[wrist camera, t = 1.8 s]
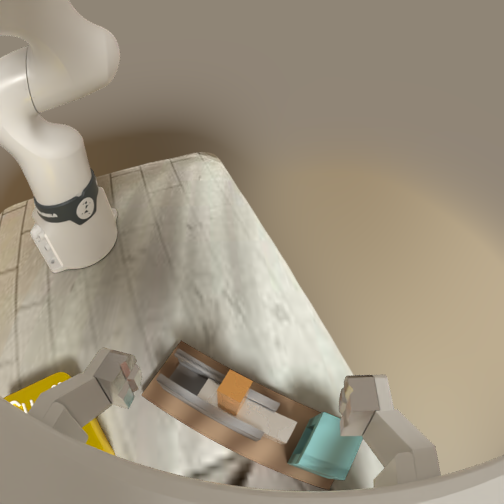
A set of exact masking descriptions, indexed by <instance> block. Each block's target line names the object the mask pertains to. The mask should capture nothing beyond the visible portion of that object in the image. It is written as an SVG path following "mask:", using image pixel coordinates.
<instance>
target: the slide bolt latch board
mask: <svg viewBox="0 0 504 504" xmlns="http://www.w3.org/2000/svg"><path fill="white" fill-rule="evenodd" d="M229 370H232V369H230V368H228V367H226V366H224V365H222V364H221V363H219V362H217V361H215V360H214V359H212V358H210V357H208V356H207V355H205V354H203V353H201V352H200V351H198V350H196V349H195V348H193V347H191V346H189V345H188V344H186V343H185V342H183V341H180V343H179V344H178V345H177V347H176V348H175V349H174V351H173V352H172V354H171V355H170V356H169V358H168V359H167V360H166V362H165V363H164V365H163V366H162V367H161V369H160V370H159V371H158V373H157V374H156V376H155V377H154V378H153V380H152V381H151V382H150V384H149V385H148V387H147V388H146V389H145V391H144V392H143V393H142V396H143V397H144V398H146V399H147V400H149V401H150V402H151V403H153V404H154V405H156V406H157V407H159V408H160V409H162V410H163V411H165V412H166V413H168V414H169V415H171V416H173V417H174V418H176V419H177V420H179V421H180V422H182V423H184V424H185V425H187V426H189V427H190V428H192V429H194V430H195V431H197V432H199V433H201V434H202V435H204V436H206V437H208V438H209V439H211V440H213V441H215V442H217V443H219V444H220V445H222V446H224V447H226V448H228V449H230V450H232V451H234V452H236V453H238V454H240V455H242V456H244V457H246V458H248V459H250V460H252V461H255V462H257V463H259V464H261V465H263V466H266V467H268V468H270V469H273V470H275V471H277V472H280V473H282V474H285V475H287V476H290V477H292V478H295V479H298V480H300V481H303V482H306V483H309V484H311V485H314V486H317V487H320V488H323V489H327V490H329V489H330V487H331V485H332V483H333V481H334V479H337V480H345V478H346V476H347V474H348V472H349V470H350V467H351V465H352V463H353V461H354V458H355V456H356V454H357V452H358V449H359V447H360V444H361V442H362V439H363V437H362V436H340V420H341V419H340V418H338V417H335V416H333V415H331V414H328V413H326V412H322V413H321V412H319V411H316V410H314V409H312V408H309V407H307V406H305V405H303V404H300V403H298V402H296V401H294V400H292V399H289V398H287V397H285V396H283V395H281V394H279V393H277V392H275V391H273V390H270V389H268V388H266V387H264V386H262V385H260V384H258V383H256V382H254V381H253V380H251V379H249V378H247V377H246V378H247V379H249V380H251V381H253V383H252V385H251V388H250V390H249V393H248V395H247V398H248V399H250V400H252V401H254V402H256V403H258V404H260V405H262V406H264V407H266V408H268V409H270V410H272V411H274V412H276V413H278V414H281V415H283V416H285V417H287V418H289V419H292V420H294V421H296V422H297V424H296V426H295V428H294V430H293V432H292V434H291V436H290V438H289V440H288V441H287V443H286V444H279V443H277V442H275V441H273V440H270V439H268V438H266V437H264V436H263V434H264V433H265V432H263V431H261V430H259V429H257V428H255V427H253V426H251V425H249V424H247V423H245V422H243V421H241V420H239V419H237V418H235V417H233V416H231V415H230V414H228V413H226V412H224V411H222V410H220V409H218V408H217V407H215V406H213V405H211V404H210V403H208V402H206V401H204V400H203V399H201V398H199V397H198V396H197V395H198V394H199V392H200V391H201V389H202V388H203V386H204V385H205V383H206V381H207V380H208V378H211V379H213V380H214V381H216V382H218V383H220V384H221V383H222V381H223V380H224V378H225V376H226V375H227V373H228V372H229ZM232 371H233V370H232ZM234 372H235V371H234ZM236 373H237V372H236ZM238 374H239V373H238ZM240 375H241V374H240ZM242 376H243V375H242ZM244 377H245V376H244Z"/></svg>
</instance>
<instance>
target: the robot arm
mask: <svg viewBox="0 0 504 504" xmlns="http://www.w3.org/2000/svg"><path fill="white" fill-rule="evenodd" d="M0 36H16V37H19V38H22V39H23V40H25V41H26V42H28V44H29V45H28V46H26V47H23V48H21V49H18V50H16V51H14V52H11V53H9V54H7V55H5V56H3V57H0V146H2V147H3V148H4V149H6V150H7V151H8V152H9V153H10V154H11V155H12V156H13V157H14V158H15V159H16V161H17V162H18V164H19V165H20V167H21V169H22V171H23V173H24V175H25V177H26V179H27V181H28V183H29V185H30V187H31V190H32V192H33V194H34V204H35V208H34V210H33V212H32V218H33V220H34V222H35V225H34V226H33V228H32V229H31V232H30V234H31V237H32V239H33V241H34V242H35V244H36V246H37V248H38V249H39V251H40V253H41V255H42V256H43V258H44V260H45V261H46V263H47V265H48V266H49V268H50V270H51V271H52V272H53V273H57V272H61V271H63V270H66V269H79V268H84V267H88V266H90V265H93V264H95V263H96V262H98V261H100V260H101V259H102V258H104V257H105V256H106V255H107V254H108V253H109V252H110V250H111V249H112V248H113V246H114V244H115V242H116V239H117V233H118V232H117V226H116V220H117V216H118V213H117V210H116V209H115V208H112V207H110V204H109V202H108V199H107V197H106V194H105V192H104V189H103V188H102V187H99V186H98V185H97V179H96V176H95V175H94V172H93V170H92V169H91V168H90V166H89V162H88V158H87V154H86V150H85V145H84V141H83V138H82V136H81V134H80V133H79V132H78V131H77V130H76V129H74V128H72V127H70V126H68V125H64V124H55V123H50V122H48V121H46V120H44V119H43V118H42V117H41V116H40V115H39V114H40V113H41V112H44V111H47V110H49V109H52V108H55V107H57V106H60V105H63V104H66V103H69V102H72V101H75V100H78V99H81V98H83V97H85V96H87V95H89V94H91V93H93V92H95V91H97V90H99V89H101V88H103V87H105V86H107V85H109V83H110V82H111V81H112V79H113V77H114V76H115V74H116V71H117V69H118V66H119V61H120V50H119V45H118V43H117V41H116V39H115V37H114V36H113V35H112V33H111V32H109V31H108V30H107V29H105V28H103V27H100V26H98V25H95V24H93V23H91V22H89V21H88V20H86V19H85V18H83V17H82V16H81V15H80V14H79V13H78V12H77V11H76V10H75V9H74V7H73V6H72V5H71V3H70V1H69V0H0ZM136 362H137V360H136V358H135V356H134V355H131V354H127V353H123V352H119V351H115V350H111V349H107V348H101V349H100V350H99V351H98V352H97V354H96V355H95V357H94V358H93V360H92V361H91V362H90V364H89V365H88V367H87V368H86V370H85V371H84V373H79V374H77V375H75V376H73V377H71V378H70V379H68V380H66V381H64V382H62V383H60V384H58V385H56V386H54V387H52V388H51V389H49V390H47V391H45V392H43V393H41V394H40V396H39V397H38V398H37V400H36V401H35V403H34V404H33V406H32V407H31V409H30V410H29V412H28V413H25V412H24V411H22V410H20V409H19V408H17V407H16V406H14V405H12V404H11V403H9V402H8V401H6V400H5V399H3V398H2V397H0V504H504V455H502V456H500V457H497V458H495V459H492V460H489V461H487V462H484V463H481V464H478V465H475V466H473V467H469V468H466V469H463V470H459V471H456V472H452V473H449V474H445V475H441V474H440V468H439V463H438V457H437V453H436V448H435V446H434V445H433V444H432V443H431V442H430V441H429V440H428V439H427V438H426V437H425V436H424V435H423V434H422V433H421V432H420V431H419V430H418V429H417V428H416V427H415V426H414V425H413V424H412V423H411V422H410V421H409V420H408V419H407V418H406V417H405V416H404V415H403V414H402V413H401V412H400V411H399V410H398V409H397V410H396V409H394V407H393V402H392V397H391V392H390V388H389V383H388V379H387V376H386V375H355V376H346V377H345V380H344V388H342V389H341V393H340V399H339V412H340V413H341V414H342V417H341V420H340V436H362V437H363V439H364V440H365V442H366V443H367V444H368V446H369V447H370V448H371V450H372V451H373V453H374V454H375V455H376V457H377V458H378V459H379V461H380V462H381V464H382V465H383V466H384V469H383V470H382V471H381V473H380V474H379V475H378V476H377V477H376V478H375V479H374V488H367V489H355V490H340V491H285V490H269V489H258V488H248V487H240V486H233V485H226V484H220V483H214V482H209V481H203V480H198V479H194V478H189V477H185V476H180V475H176V474H172V473H168V472H165V471H161V470H157V469H154V468H151V467H147V466H144V465H141V464H138V463H135V462H132V461H129V460H126V459H123V458H120V457H117V456H115V455H112V454H109V453H107V452H104V451H102V450H99V449H97V448H95V447H92V446H90V445H87V444H86V442H87V440H88V435H87V434H86V432H85V431H84V430H83V429H82V427H83V426H85V425H86V424H88V423H89V422H90V421H92V420H93V419H94V418H96V417H97V416H98V415H100V414H101V413H102V412H104V411H105V410H106V409H108V408H109V407H110V406H112V405H116V406H119V407H123V408H127V409H129V407H130V405H131V403H132V401H133V399H134V393H133V392H135V391H136V390H138V389H139V387H140V385H141V381H142V372H141V369H140V368H139V367H138V366H137V365H136ZM111 404H112V405H111Z"/></svg>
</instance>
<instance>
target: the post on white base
mask: <svg viewBox="0 0 504 504" xmlns="http://www.w3.org/2000/svg"><path fill="white" fill-rule="evenodd" d="M252 383H253V381H251V380H249V379H247V378H246V377H244V376H242V375H240V374H238V373H236V372H234V371H232V370H229V372H228V373H227V375H226V376H225V378H224V380H223V381H222V383H221V384H220V383H218V382H216V381H214V380H213V379H211V378H208V380H207V381H206V383H205V385H204V386H203V388H202V389H201V391H200V392H199V394H198V395H197V396H198V397H199V398H201V399H203V400H204V401H206V402H208V403H210V404H211V405H213V406H215V407H217V408H218V409H220V410H222V411H224V412H226V413H228V414H230V415H231V416H233V417H235V418H237V419H239V420H241V421H243V422H245V423H247V424H249V425H251V426H253V427H255V428H257V429H259V430H261V431H263V432H265V433H264V434H263V436H264V437H266V438H268V439H270V440H273V441H275V442H277V443H279V444H286V443H287V441H288V440H289V438H290V436H291V434H292V432H293V430H294V428H295V426H296V424H297V422H296V421H294V420H292V419H289V418H287V417H285V416H283V415H281V414H278V413H276V412H274V411H272V410H270V409H268V408H266V407H264V406H262V405H260V404H258V403H256V402H254V401H252V400H250V399H248V398H247V395H248V393H249V390H250V388H251V385H252Z"/></svg>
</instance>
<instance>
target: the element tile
mask: <svg viewBox="0 0 504 504" xmlns="http://www.w3.org/2000/svg"><path fill="white" fill-rule="evenodd" d="M70 378H71V376H70V375H68V374H67V373H64V372H57V373H55V374H53V375H50V376H48V377H46V378H44V379H42V380H40V381H38V382H36V383H34V384H32V385H30V386H27V387H25V388H23V389H21V390H19V391H17V392H15V393H13V394H10V395H8V396H6V397H5V398H3V399H5V400H6V401H8V402H9V403H11V404H12V405H14V406H16V407H17V408H19V409H20V410H22V411H24V412H25V413H28V412H29V410H30V409H31V407H32V406H33V404H34V403H35V401H36V400H37V398H38V397H39V396H40V394H41V393H43V392H45V391H47V390H49V389H51V388H52V387H54V386H56V385H58V384H60V383H62V382H64V381H66V380H68V379H70ZM82 429H83V430H84V431H85V432H86V434H87V435H88V440H87V442H86V444H87V445H90V446H92V447H95V448H97V449H99V450H102V451H104V452H107V453H109V454H112V455H115V453H114V451H113V449H112V447H111V446H110V444H109V442H108V440H107V438H106V436H105V434H104V432H103V431H102V429H101V427H100V425H99V423H98V421H97V419H96V418H94V419H93V420H92V421H90V422H89V423H88V424H86V425H85V426H83V427H82Z"/></svg>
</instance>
